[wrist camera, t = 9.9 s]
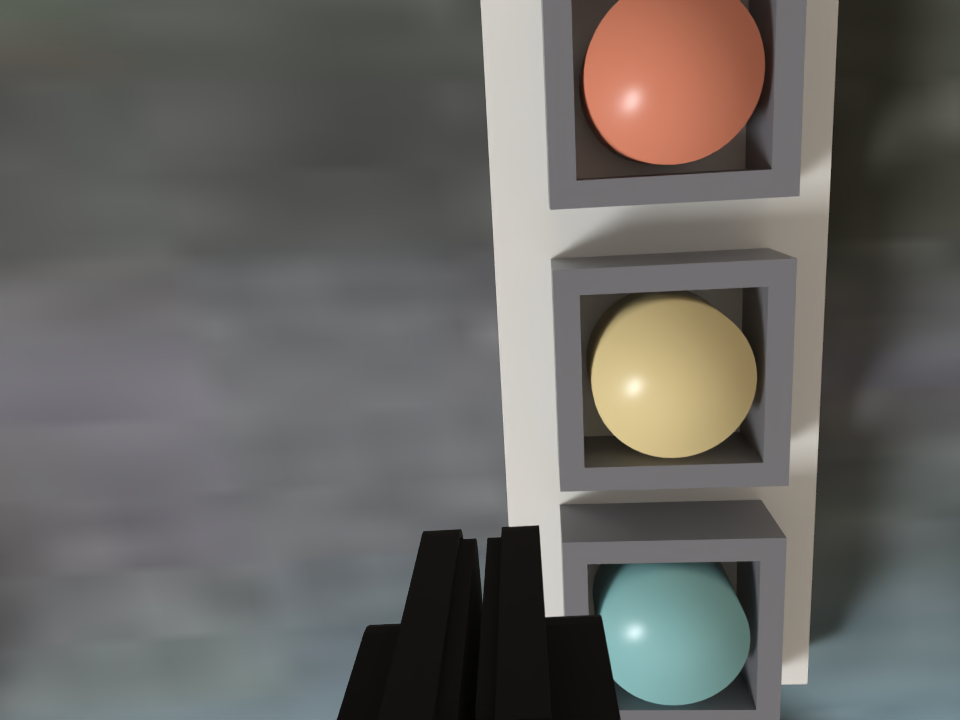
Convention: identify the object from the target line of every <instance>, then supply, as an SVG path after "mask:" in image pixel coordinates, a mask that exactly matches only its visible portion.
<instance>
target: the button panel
mask: <svg viewBox="0 0 960 720" xmlns="http://www.w3.org/2000/svg"><path fill="white" fill-rule="evenodd" d="M618 1H619V0H481V15H482V33H483V52H484V71H485V89H486V108H487V127H488V145H489V164H490V183H491V201H492V220H493V239H494V257H495V276H496V295H497V313H498V332H499V351H500V370H501V388H502V407H503V426H504V444H505V463H506V482H507V500H508V519H509V527H515V526H534V525H539V530H540V545H541V560H542V575H543V590H544V605H545V617H558V616H580V615H595V612H594V604H593V584H594V579H595V576H596V573H597V570H598V568H599V567H600V565H601V564H628V563H682V562H721V564H722V566H723V568H724V570H725V572H726V574H727V576H728V578H729V581H730V583H731V585H732V587H733V589H734V591H735V593H736V596H737V598H738V600H739V602H740V604H741V606H742V609H743V611H744V613H745V615H746V618H747V621H748V624H749V629H750V648H749V652H748V656H747V659H746V661H745V664H744V666H743V667H742V669H741V671H740V673H739V674H738V675H737V676H736V678H735V679H734V680H733V681H732V682H731V683H730V684H729V685H728V686H727V687H725V688H724V689H723V690H721V691H720V692H719V693H717V694H715V695H713V696H712V697H709V698H707V699H705V700H702V701H699V702H695V703H691V704H685V705H662V704H656V703H652V702H648V701H645V700H643V699H640V698H638V697H636V696H634V695H632V694H631V693H629V692H627V691H626V690H625V689H623V688H622V687H621V686H620V685H619V684H618V683H617V682H616V681H615V680H614V679H613V680H614V685H615V691H616V696H617V701H618V707H619V712H620V718H621V720H780V707H781V684H807V676H808V655H809V633H810V611H811V589H812V568H813V546H814V524H815V503H816V481H817V459H818V437H819V416H820V394H821V372H822V351H823V329H824V307H825V285H826V264H827V242H828V220H829V199H830V177H831V155H832V134H833V112H834V90H835V68H836V47H837V25H838V3H839V0H739V1H740V2H741V3H742V4H743V5H744V6H745V7H746V9H747V10H748V11H749V13H750V14H751V16H752V18H753V19H754V21H755V23H756V25H757V27H758V30H759V32H760V36H761V39H762V42H763V48H764V54H765V74H764V82H763V86H762V91H761V94H760V97H759V100H758V103H757V105H756V107H755V109H754V111H753V113H752V115H751V116H750V118H749V120H748V121H747V123H746V124H745V126H744V127H743V128H742V129H741V130H740V131H739V133H738V134H737V135H736V136H735V137H734V138H733V139H732V140H731V141H729V142H728V143H727V144H726V145H724V146H723V147H722V148H720V149H719V150H717V151H715V152H714V153H712V154H710V155H708V156H706V157H704V158H701V159H699V160H696V161H692V162H688V163H683V164H675V165H660V164H642V163H637V162H633V161H630V160H627V159H625V158H622V157H620V156H618V155H617V154H615V153H613V152H612V151H610V150H609V149H608V148H607V147H605V146H604V145H603V144H602V143H601V142H600V141H599V140H598V138H597V137H596V136H595V135H594V133H593V132H592V130H591V129H590V127H589V125H588V123H587V121H586V119H585V116H584V114H583V111H582V107H581V102H580V96H579V77H580V71H581V66H582V62H583V59H584V56H585V54H586V51H587V49H588V47H589V44H590V42H591V40H592V37H593V35H594V33H595V31H596V29H597V27H598V26H599V24H600V22H601V21H602V19H603V18H604V17H605V15H606V14H607V13H608V11H609V10H610V9H611V8H612V7H613V6H614V5H615V4H616V3H617V2H618ZM683 290H687V291H690V292H692V293H694V294H696V295H698V296H700V297H701V298H703V299H705V300H706V301H707V302H708V303H710V304H711V305H712V306H713V307H715V308H716V309H717V310H718V311H720V312H721V313H722V314H723V315H725V316H726V317H727V318H728V319H729V320H731V321H732V322H733V323H734V324H735V325H736V326H737V327H738V328H739V329H740V330H741V332H742V333H743V334H744V336H745V337H746V339H747V341H748V343H749V345H750V347H751V349H752V352H753V355H754V358H755V362H756V368H757V384H756V391H755V396H754V399H753V402H752V405H751V407H750V410H749V411H748V413H747V415H746V417H745V419H744V420H743V421H742V423H741V424H740V425H739V427H738V428H737V429H736V430H735V431H734V432H733V433H732V434H731V435H730V436H729V437H728V438H726V439H725V440H724V441H723V442H721V443H719V444H718V445H716V446H715V447H713V448H711V449H709V450H707V451H705V452H702V453H699V454H696V455H692V456H687V457H679V458H662V457H656V456H651V455H648V454H644V453H641V452H639V451H637V450H634V449H632V448H631V447H629V446H627V445H626V444H624V443H623V442H622V441H620V440H619V439H618V438H617V437H616V436H615V435H614V434H613V433H612V432H611V431H610V430H609V429H608V427H607V426H606V425H605V423H604V422H603V420H602V418H601V417H600V415H599V413H598V410H597V407H596V405H595V401H594V397H593V393H592V389H591V385H590V380H589V376H588V372H587V364H586V355H587V347H588V342H589V339H590V336H591V333H592V331H593V329H594V327H595V325H596V323H597V322H598V320H599V319H600V317H601V316H602V315H603V314H604V313H605V311H606V310H607V309H608V308H609V307H611V306H612V305H613V304H614V303H615V302H617V301H618V300H620V299H621V298H623V297H624V296H626V295H628V294H630V293H640V292H661V291H683Z"/></svg>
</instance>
